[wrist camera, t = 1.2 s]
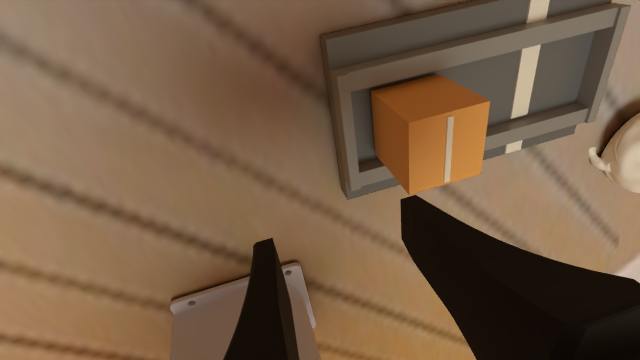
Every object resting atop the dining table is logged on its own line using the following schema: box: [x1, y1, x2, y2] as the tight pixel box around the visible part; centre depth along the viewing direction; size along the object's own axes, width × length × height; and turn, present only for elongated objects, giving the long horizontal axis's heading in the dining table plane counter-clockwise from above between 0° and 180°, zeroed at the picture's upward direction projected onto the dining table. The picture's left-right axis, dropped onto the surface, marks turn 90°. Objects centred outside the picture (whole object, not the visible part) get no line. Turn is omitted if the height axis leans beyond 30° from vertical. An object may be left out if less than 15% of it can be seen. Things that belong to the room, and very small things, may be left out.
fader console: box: [319, 0, 631, 200], centre depth 21 cm, size 17×10×2 cm, turn 98°
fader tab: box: [371, 74, 490, 195], centre depth 19 cm, size 4×4×4 cm
